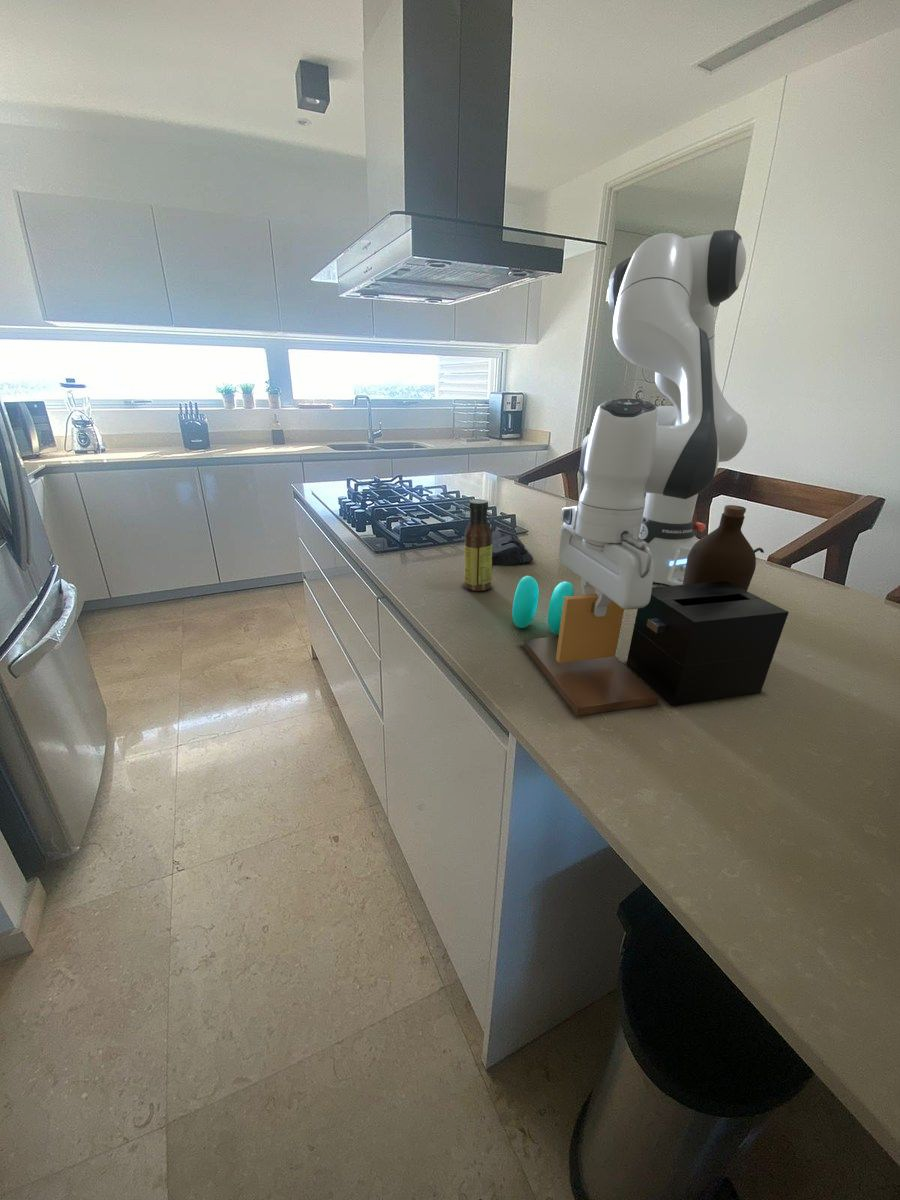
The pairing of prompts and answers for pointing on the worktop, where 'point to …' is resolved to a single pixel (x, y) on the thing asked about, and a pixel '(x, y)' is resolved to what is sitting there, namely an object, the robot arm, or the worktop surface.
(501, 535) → the dark slate chunk
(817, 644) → the worktop surface
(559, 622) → the turquoise disc pair
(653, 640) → the toaster
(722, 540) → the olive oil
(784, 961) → the worktop surface
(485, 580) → the sauce bottle
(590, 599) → the toast
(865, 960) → the worktop surface
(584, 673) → the cutting board
